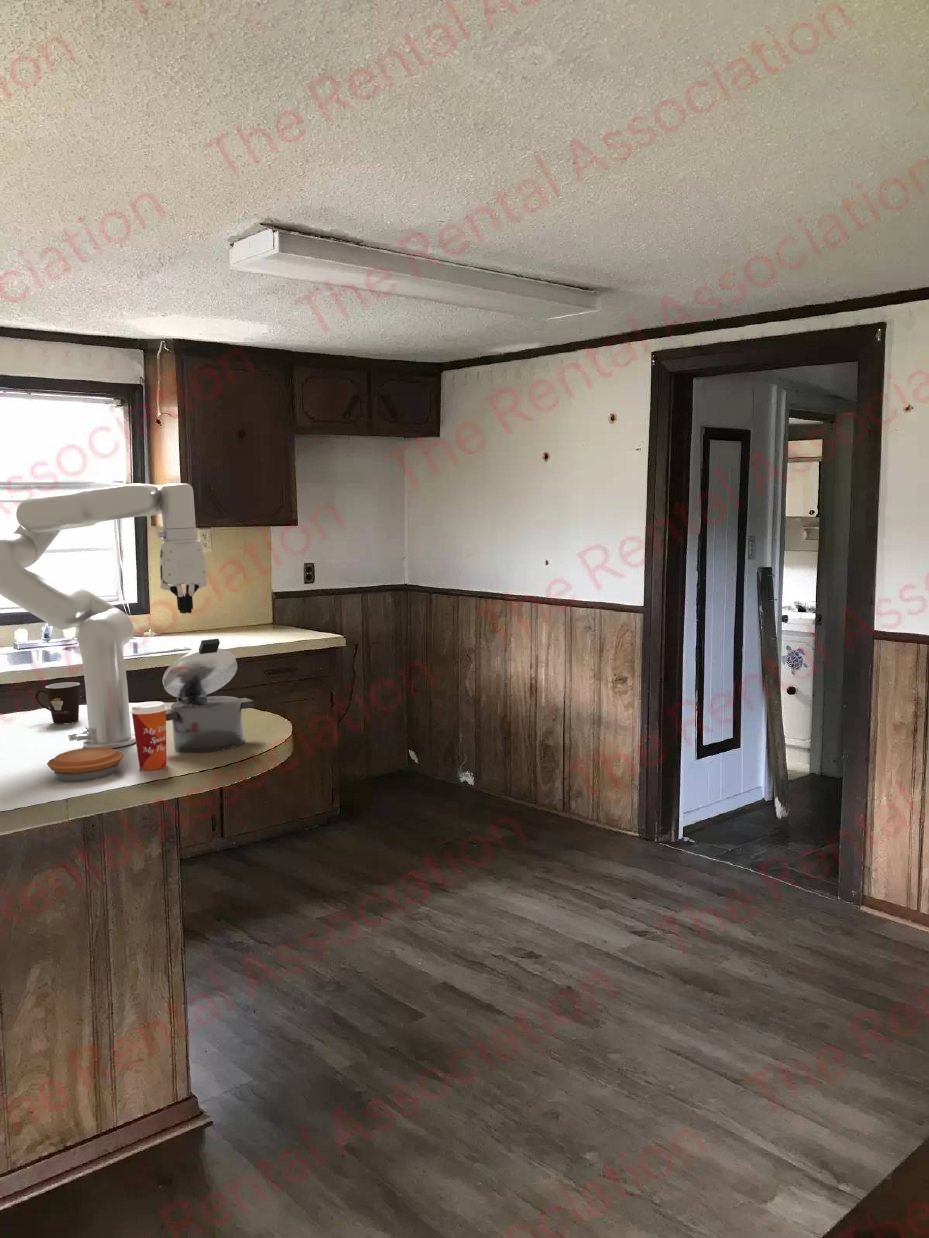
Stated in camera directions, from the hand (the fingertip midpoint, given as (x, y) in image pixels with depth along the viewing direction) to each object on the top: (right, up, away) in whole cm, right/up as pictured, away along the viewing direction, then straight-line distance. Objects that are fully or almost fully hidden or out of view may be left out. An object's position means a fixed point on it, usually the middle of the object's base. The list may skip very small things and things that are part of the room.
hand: (185, 612), depth 242 cm
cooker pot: (+5, -31, 0) cm, 32 cm away
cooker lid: (+5, -14, -3) cm, 15 cm away
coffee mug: (-42, -29, +32) cm, 61 cm away
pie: (-14, -35, -25) cm, 45 cm away
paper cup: (-1, -34, -21) cm, 40 cm away
